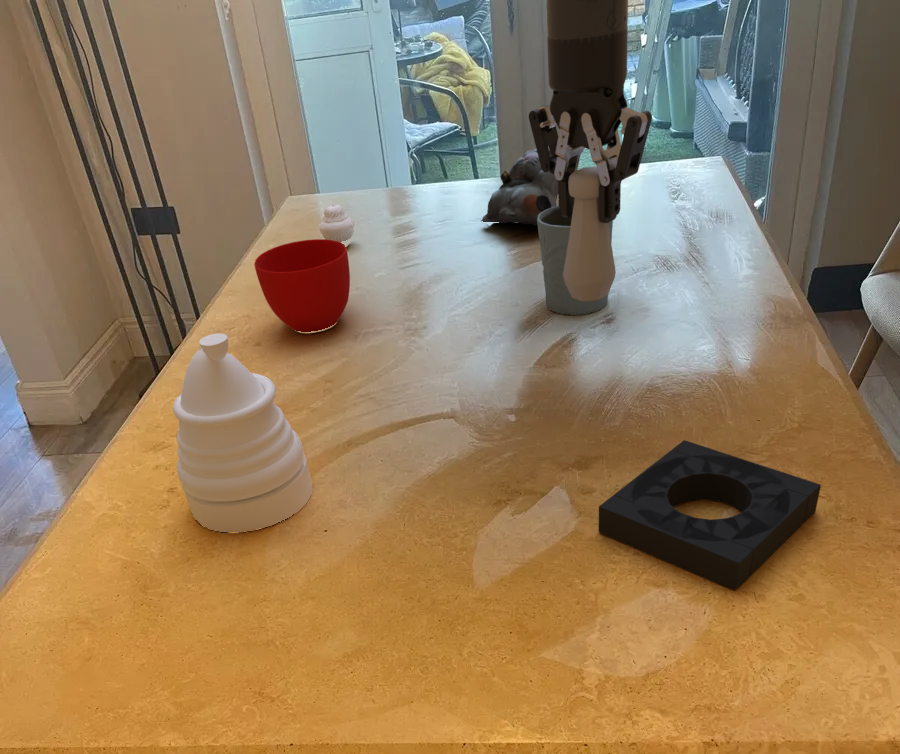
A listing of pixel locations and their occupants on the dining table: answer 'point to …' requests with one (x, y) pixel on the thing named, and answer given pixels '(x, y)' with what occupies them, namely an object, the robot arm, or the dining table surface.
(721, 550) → the base pad
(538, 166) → the lucky cat figurine
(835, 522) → the dining table surface
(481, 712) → the dining table surface
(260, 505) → the honey pot
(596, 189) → the cream tapered peg
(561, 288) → the drinking glass
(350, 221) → the muffin
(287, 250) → the ceramic cup
